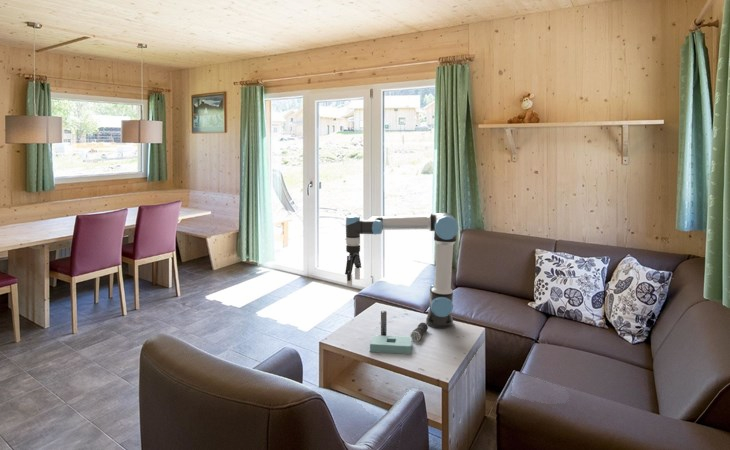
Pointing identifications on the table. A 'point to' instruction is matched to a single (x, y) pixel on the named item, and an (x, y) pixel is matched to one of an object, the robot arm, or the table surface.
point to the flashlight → (419, 331)
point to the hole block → (391, 344)
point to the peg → (383, 323)
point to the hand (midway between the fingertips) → (353, 282)
